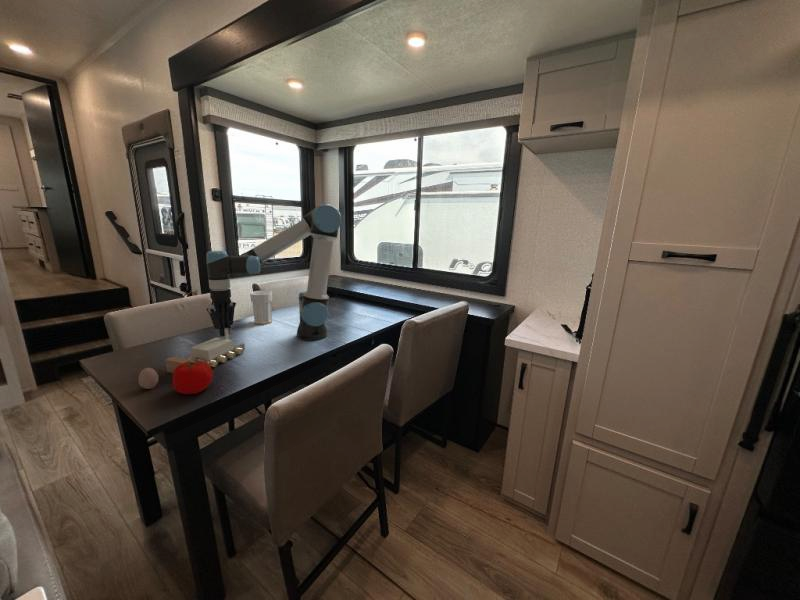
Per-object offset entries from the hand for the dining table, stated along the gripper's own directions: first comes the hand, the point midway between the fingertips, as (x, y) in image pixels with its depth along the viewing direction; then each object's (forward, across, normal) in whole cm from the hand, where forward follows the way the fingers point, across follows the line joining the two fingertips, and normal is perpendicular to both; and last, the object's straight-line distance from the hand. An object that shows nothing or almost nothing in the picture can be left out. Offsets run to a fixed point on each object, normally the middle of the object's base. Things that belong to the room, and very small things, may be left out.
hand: (225, 342), depth 135 cm
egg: (+5, +32, 0) cm, 32 cm away
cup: (+5, -41, -16) cm, 45 cm away
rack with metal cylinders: (+5, +8, 0) cm, 9 cm away
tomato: (+5, +28, +14) cm, 32 cm away
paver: (+2, +7, 0) cm, 7 cm away
